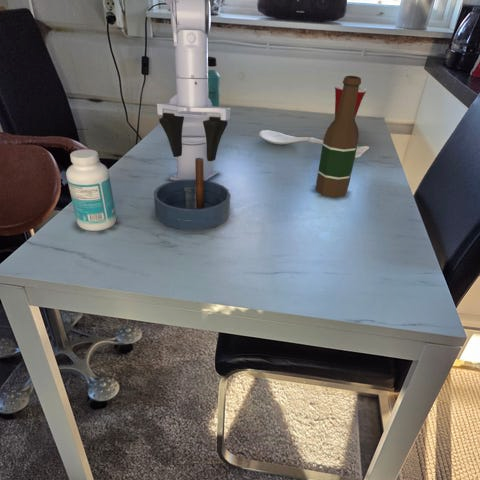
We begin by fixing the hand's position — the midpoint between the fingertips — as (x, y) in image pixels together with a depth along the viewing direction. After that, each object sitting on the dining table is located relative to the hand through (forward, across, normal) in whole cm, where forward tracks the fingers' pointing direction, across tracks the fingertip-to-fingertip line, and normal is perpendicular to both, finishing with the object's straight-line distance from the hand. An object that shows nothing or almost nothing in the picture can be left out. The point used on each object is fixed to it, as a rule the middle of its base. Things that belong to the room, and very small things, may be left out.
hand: (194, 158), depth 83 cm
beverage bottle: (+2, -25, +52) cm, 58 cm away
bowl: (+11, 0, 0) cm, 11 cm away
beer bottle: (+10, +22, +26) cm, 35 cm away
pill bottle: (+12, -14, -14) cm, 23 cm away
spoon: (+5, +8, +52) cm, 53 cm away
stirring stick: (+10, 0, +2) cm, 10 cm away
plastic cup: (+1, +10, +84) cm, 84 cm away
